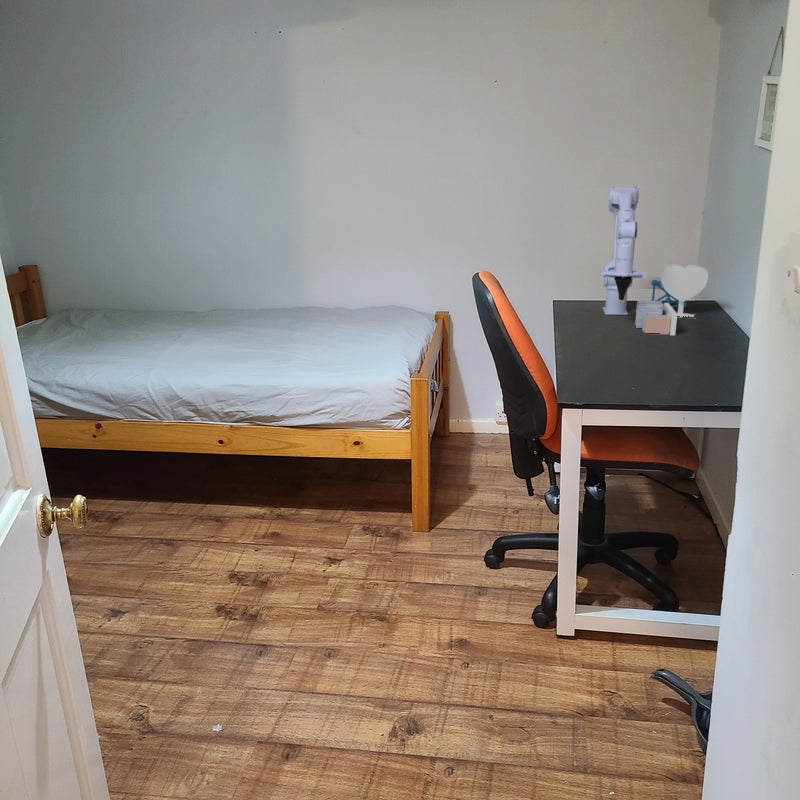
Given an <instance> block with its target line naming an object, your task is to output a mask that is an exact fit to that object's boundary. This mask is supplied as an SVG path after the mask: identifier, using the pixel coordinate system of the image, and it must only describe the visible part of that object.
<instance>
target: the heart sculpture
mask: <svg viewBox="0 0 800 800" xmlns="http://www.w3.org/2000/svg"><path fill="white" fill-rule="evenodd" d="M708 280H709V272H708V269H707V268H706V267H704V266H701V265H698V264H694V263H693V264H688V265H687V266H684V265H682V264H680V263H672V264H668V265H666V266H664V267H662V268H661V272H660V281H661V283H662V285H663V286H662V288H664V289H665V290H666V291H667V292H668V293H669V294H670V295H671V296H673V297H674V298H676V299H677V300H679V305H678V304H677V305H678V307H677V312H676V313H677V316H680V317H679V318H682V317H683V316H684V317H685V316H686V317H688V316H689V317H694V315H695V314H694V313H685V312H684V308H683V307H684V301H685V302H686V301H687V300H689V299H691V298H693V297H695V296H697V295H698V294H700V293H701V292H702V291H703V290H704V289H705V287H706V286H707V283H708Z"/></svg>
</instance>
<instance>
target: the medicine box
mask: <svg viewBox="0 0 800 800" xmlns="http://www.w3.org/2000/svg"><path fill="white" fill-rule="evenodd" d="M661 301H662V300H659V301H655V300H654V301H651V300H637V301H636V308H635V309H636V310H635V320H634V325H636V326H635V327H636V329H637V328H642V321H643V315H662V312H663V305H664V303H662V302H661Z"/></svg>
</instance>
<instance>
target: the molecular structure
mask: <svg viewBox="0 0 800 800" xmlns="http://www.w3.org/2000/svg"><path fill="white" fill-rule="evenodd" d="M650 284H651V286H652V293H651V294H652V296H651V300H650V301H661V302H662V303H663V307H664V303H669V304H670V306H671V307H672V308H673V309H674V308H678V305H679V300H677V299H676V298H674V297H673V296H671V295H670V294H669V293H668V292H667V291H666V290H665V289H664V287H663V285H662V283H661V280H657V279H652V281H650ZM656 287H658V288H659V289H660V290H661V291H663V292H664V293H665V294H664V295H662V296H661V297H659V298H657V299H656V300H655V293H656ZM664 298H665V300H663V299H664ZM671 298H672V299H674V300H672V299H671ZM671 304H673V305H671ZM687 305H688V304H687V302H686V300H685V301H684V307H683V309H686V307H687Z"/></svg>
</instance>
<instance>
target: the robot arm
mask: <svg viewBox="0 0 800 800" xmlns="http://www.w3.org/2000/svg"><path fill="white" fill-rule="evenodd" d="M608 191H609V192H608V206H607V207H608V212H610V213H612V214H613V217H614V228H613V229H614V230H613V231H614V232H613V234H614V236H613V248H612V250H613V252H612V253H613V254H612V260H611V261H609V262H607V263H606V264H605V265H604V269H603V271H602V270H601V271H600V277H599V278H601V279H603V282H602V283H603V286H604V287H605V288H606V291H605V292H606V294H605V296H606V297H605V305H604V306H603V307H602V310H603V312H604V315H613V316H615V315H616V316H617V315H620V316H621V315H622V316H623V315H624V316H625V315H626V316H628V315H629V313H628V311H627V301H628V290H629V288H631V287H632V286H633V281H634V279H643V280H645V279H647V272H646V271H638V270H637V271H636V270H634V259H635V247H636V246H635V245H636V240H637V238H638V232H639V231H638V230H639V225H638V221H637V220H636V213H635V212H636V209H637V207H638V206H637V205H638V204H639V198H640V197H639V196H640V188H639V187H638V186H637V185H635V186H613V185H612V186H610V187H609V189H608Z"/></svg>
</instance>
